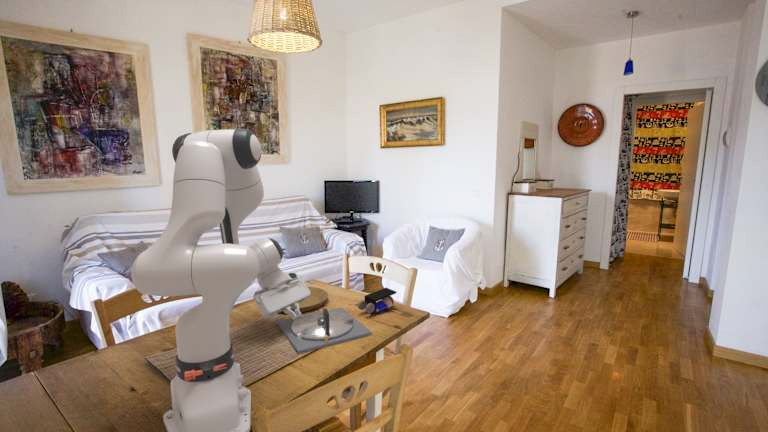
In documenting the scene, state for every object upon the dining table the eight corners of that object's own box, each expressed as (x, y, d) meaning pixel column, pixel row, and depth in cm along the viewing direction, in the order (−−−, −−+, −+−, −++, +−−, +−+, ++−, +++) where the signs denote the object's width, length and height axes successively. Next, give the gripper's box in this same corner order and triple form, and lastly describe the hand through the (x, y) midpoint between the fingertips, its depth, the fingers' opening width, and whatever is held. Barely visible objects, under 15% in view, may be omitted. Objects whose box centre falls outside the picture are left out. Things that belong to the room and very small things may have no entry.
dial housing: (371, 334, 125) (371, 326, 124) (298, 354, 112) (297, 344, 112) (341, 309, 146) (341, 302, 146) (277, 323, 134) (277, 315, 133)
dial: (289, 318, 136) (288, 295, 135) (346, 310, 142) (345, 289, 141) (294, 344, 116) (293, 318, 115) (359, 334, 122) (359, 309, 121)
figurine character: (370, 323, 137) (398, 307, 147) (368, 304, 136) (396, 289, 146) (358, 317, 142) (386, 303, 152) (356, 299, 141) (384, 285, 151)
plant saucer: (276, 320, 137) (276, 312, 137) (262, 300, 158) (261, 293, 157) (337, 307, 149) (337, 299, 149) (316, 290, 170) (316, 283, 169)
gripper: (255, 288, 118) (279, 323, 115) (300, 271, 136) (322, 302, 132) (246, 299, 121) (269, 334, 117) (291, 281, 138) (312, 311, 135)
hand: (297, 317), depth 125 cm, fingers closed
